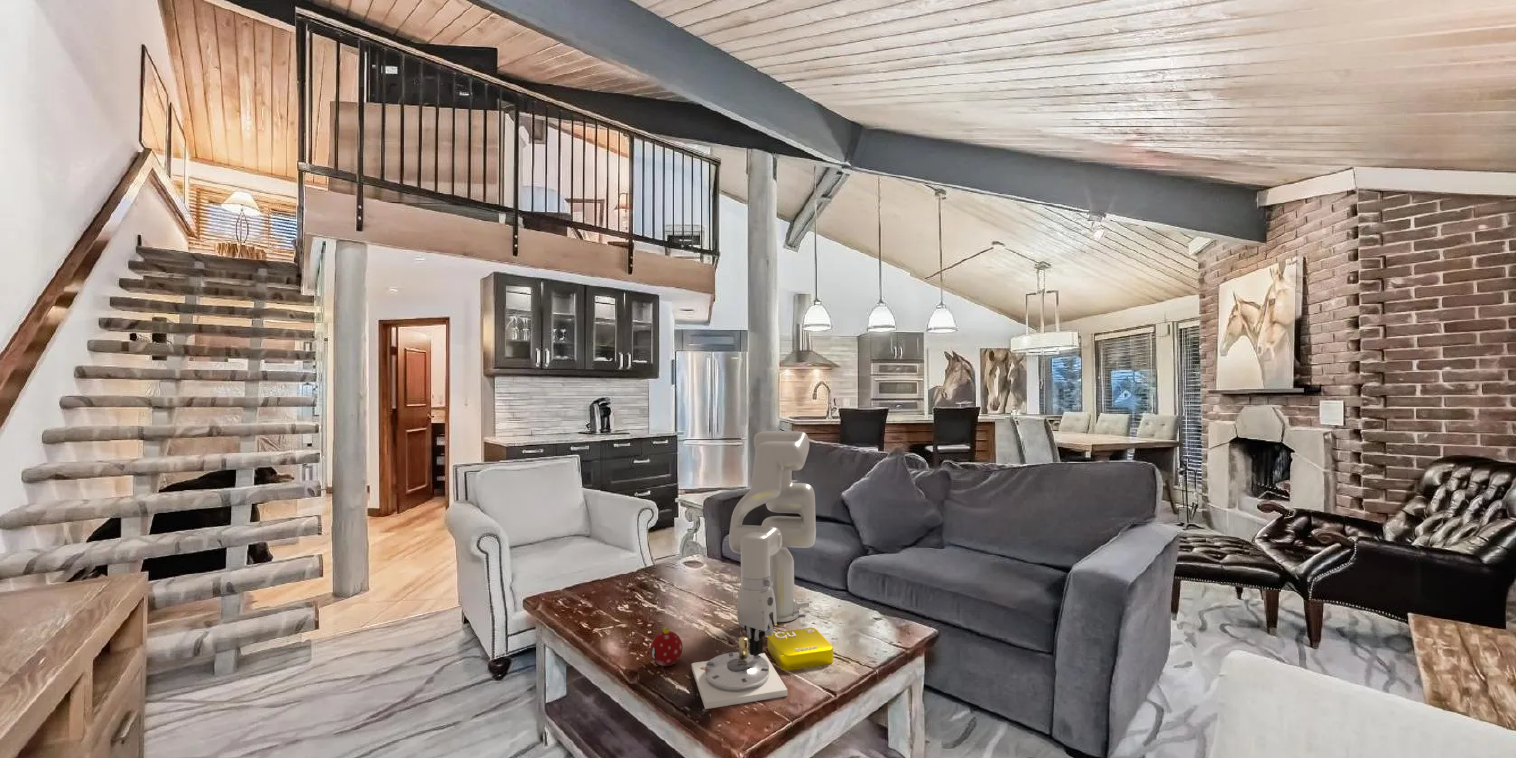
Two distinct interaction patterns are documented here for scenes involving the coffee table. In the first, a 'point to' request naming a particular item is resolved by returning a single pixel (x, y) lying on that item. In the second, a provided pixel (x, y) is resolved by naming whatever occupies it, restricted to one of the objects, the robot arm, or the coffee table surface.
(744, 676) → the rotary dial
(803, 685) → the coffee table surface
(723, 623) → the coffee table surface
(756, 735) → the coffee table surface
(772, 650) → the element tile
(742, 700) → the base plate
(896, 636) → the coffee table surface
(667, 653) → the christmas ornament
